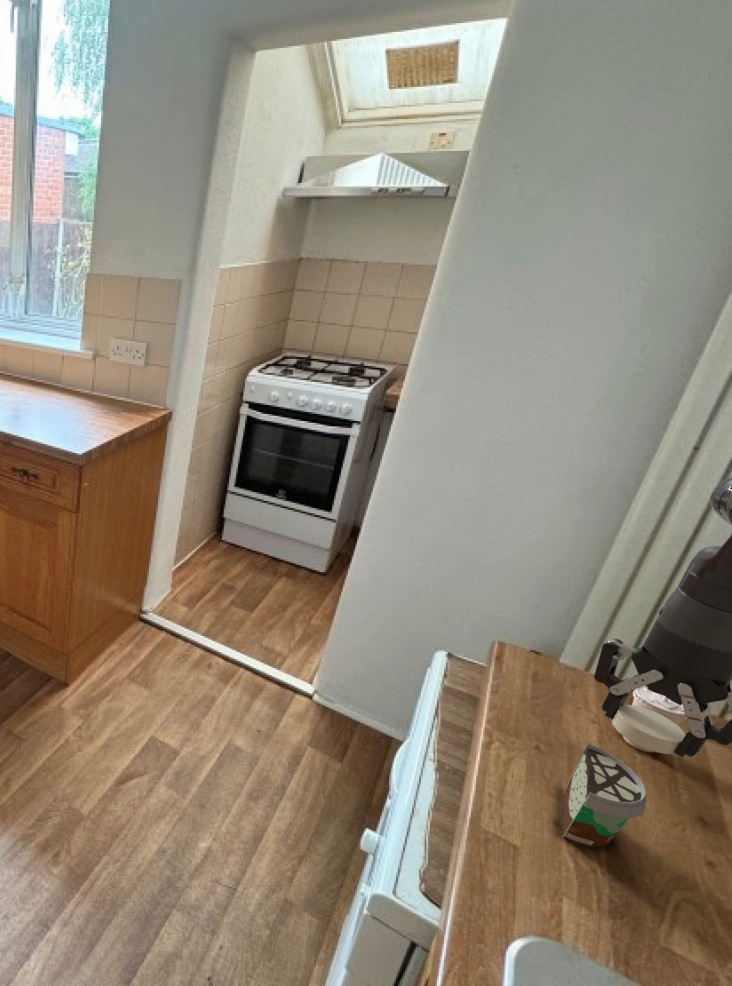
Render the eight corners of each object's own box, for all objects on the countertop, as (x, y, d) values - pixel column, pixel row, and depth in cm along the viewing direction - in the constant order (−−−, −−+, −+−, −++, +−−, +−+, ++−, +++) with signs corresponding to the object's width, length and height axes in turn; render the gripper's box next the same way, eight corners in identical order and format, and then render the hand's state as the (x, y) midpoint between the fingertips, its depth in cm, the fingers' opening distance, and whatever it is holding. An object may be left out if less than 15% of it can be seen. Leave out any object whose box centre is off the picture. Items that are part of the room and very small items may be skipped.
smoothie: (616, 748, 99) (652, 681, 94) (607, 723, 104) (641, 658, 99) (671, 767, 95) (712, 699, 90) (659, 740, 100) (697, 674, 95)
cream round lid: (685, 747, 78) (695, 732, 77) (664, 764, 75) (674, 748, 74) (622, 713, 83) (630, 698, 82) (601, 728, 80) (609, 713, 79)
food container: (624, 878, 79) (656, 825, 75) (561, 846, 83) (589, 795, 79) (618, 815, 88) (647, 764, 84) (562, 789, 91) (587, 740, 88)
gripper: (807, 658, 68) (736, 766, 74) (637, 591, 80) (588, 688, 86) (784, 677, 65) (712, 788, 71) (611, 605, 77) (562, 705, 83)
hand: (644, 733), depth 79 cm, fingers closed on cream round lid, 6 cm apart
